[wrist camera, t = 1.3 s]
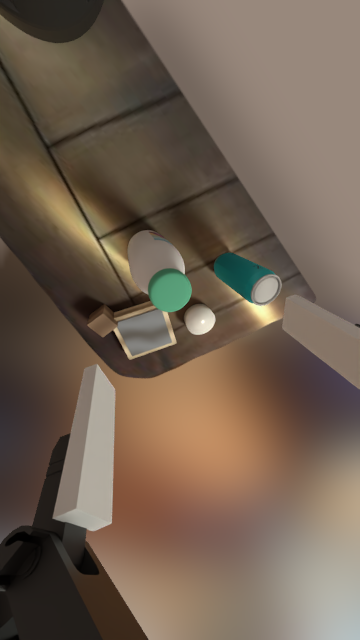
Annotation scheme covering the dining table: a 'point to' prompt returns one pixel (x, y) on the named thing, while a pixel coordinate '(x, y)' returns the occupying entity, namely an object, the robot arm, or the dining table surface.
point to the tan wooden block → (102, 321)
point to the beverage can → (248, 278)
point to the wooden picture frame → (143, 329)
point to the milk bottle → (158, 270)
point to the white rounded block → (199, 319)
